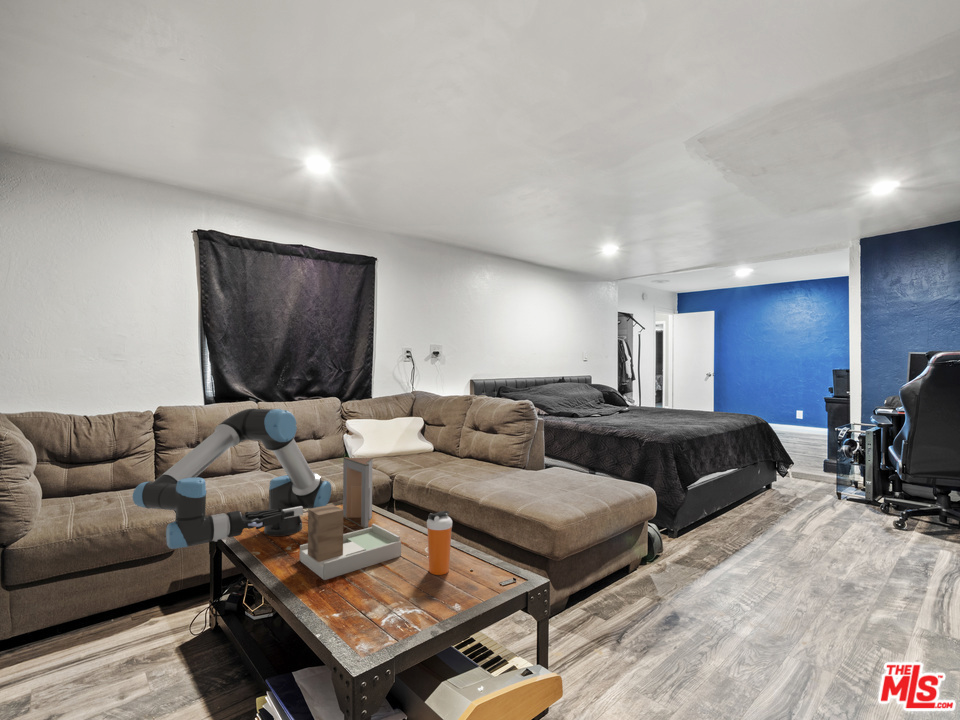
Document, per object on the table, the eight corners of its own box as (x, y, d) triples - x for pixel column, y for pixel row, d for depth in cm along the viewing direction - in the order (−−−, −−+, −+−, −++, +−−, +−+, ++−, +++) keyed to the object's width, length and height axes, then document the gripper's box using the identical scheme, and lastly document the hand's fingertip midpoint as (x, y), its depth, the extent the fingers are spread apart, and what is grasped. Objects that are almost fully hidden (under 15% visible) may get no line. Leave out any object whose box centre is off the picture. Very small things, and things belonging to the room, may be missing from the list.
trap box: (299, 560, 171) (299, 541, 171) (372, 540, 191) (372, 523, 191) (324, 580, 155) (324, 559, 156) (401, 555, 176) (401, 537, 176)
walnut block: (307, 554, 167) (308, 509, 167) (331, 547, 173) (332, 504, 173) (318, 562, 160) (318, 515, 160) (342, 555, 166) (343, 509, 167)
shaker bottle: (457, 570, 164) (457, 513, 164) (438, 578, 157) (438, 519, 157) (440, 563, 170) (440, 507, 170) (421, 570, 163) (421, 513, 163)
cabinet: (342, 517, 220) (343, 457, 220) (361, 512, 226) (362, 454, 227) (365, 528, 204) (365, 464, 205) (384, 523, 211) (384, 461, 211)
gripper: (220, 532, 150) (294, 516, 166) (232, 543, 140) (309, 526, 156) (221, 508, 150) (295, 495, 166) (232, 518, 140) (310, 503, 156)
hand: (302, 510), depth 161 cm, fingers closed
